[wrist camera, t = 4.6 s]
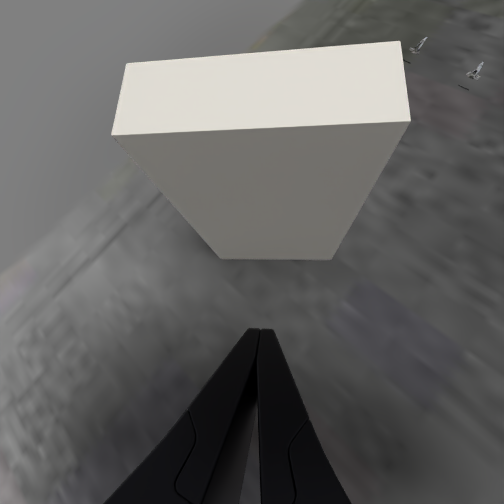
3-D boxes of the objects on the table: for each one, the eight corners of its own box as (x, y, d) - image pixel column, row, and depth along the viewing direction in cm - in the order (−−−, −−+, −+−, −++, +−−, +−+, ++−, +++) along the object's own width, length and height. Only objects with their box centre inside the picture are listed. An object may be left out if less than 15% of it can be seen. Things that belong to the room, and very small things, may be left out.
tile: (331, 260, 18) (411, 120, 6) (220, 258, 18) (111, 135, 7) (329, 222, 18) (399, 34, 7) (223, 223, 19) (127, 57, 8)
